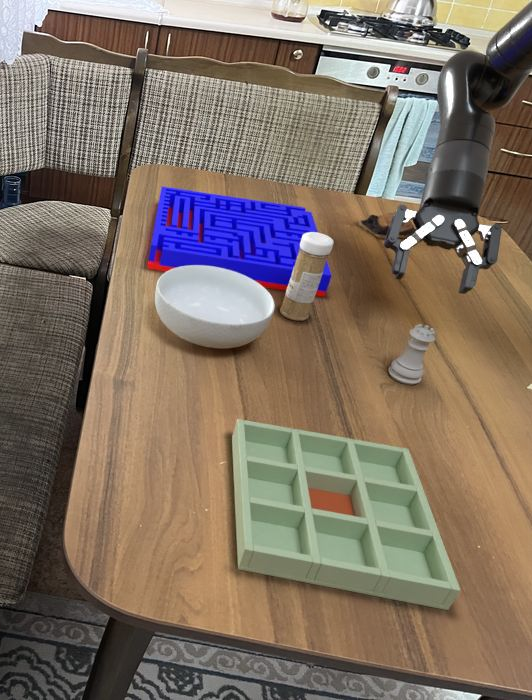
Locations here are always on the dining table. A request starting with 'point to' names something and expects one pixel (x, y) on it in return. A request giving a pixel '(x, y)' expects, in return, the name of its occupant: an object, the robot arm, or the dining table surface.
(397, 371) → the rook chess piece
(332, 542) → the grid
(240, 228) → the maze
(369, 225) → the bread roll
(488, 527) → the dining table surface
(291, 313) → the sprinkles bottle
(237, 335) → the cereal bowl
